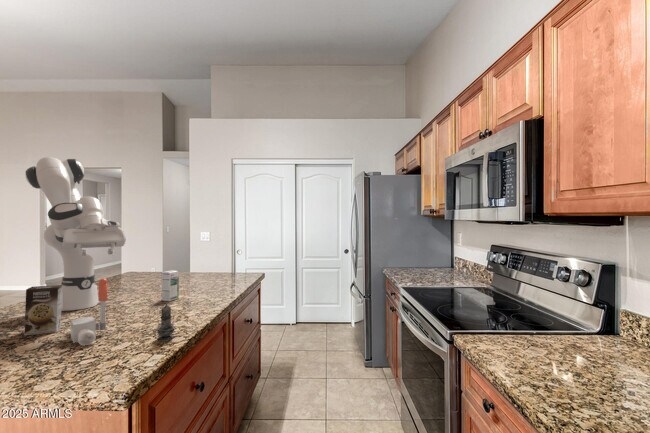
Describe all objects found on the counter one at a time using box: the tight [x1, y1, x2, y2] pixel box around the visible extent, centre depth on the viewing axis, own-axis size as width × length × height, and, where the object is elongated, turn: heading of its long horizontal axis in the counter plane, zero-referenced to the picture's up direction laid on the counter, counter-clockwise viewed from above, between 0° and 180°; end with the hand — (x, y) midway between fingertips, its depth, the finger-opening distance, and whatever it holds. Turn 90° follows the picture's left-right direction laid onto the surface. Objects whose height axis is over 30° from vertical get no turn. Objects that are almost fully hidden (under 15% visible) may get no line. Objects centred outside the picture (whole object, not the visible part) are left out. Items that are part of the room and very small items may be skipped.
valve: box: [70, 316, 100, 347], centre depth 111 cm, size 18×7×6 cm, turn 44°
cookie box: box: [23, 284, 62, 336], centre depth 117 cm, size 9×6×16 cm
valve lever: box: [98, 278, 108, 332], centre depth 114 cm, size 3×3×18 cm
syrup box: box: [161, 269, 180, 302], centre depth 164 cm, size 6×6×14 cm
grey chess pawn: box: [156, 303, 176, 342], centre depth 111 cm, size 6×6×12 cm
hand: (97, 254), depth 123 cm, fingers open, 7 cm apart
